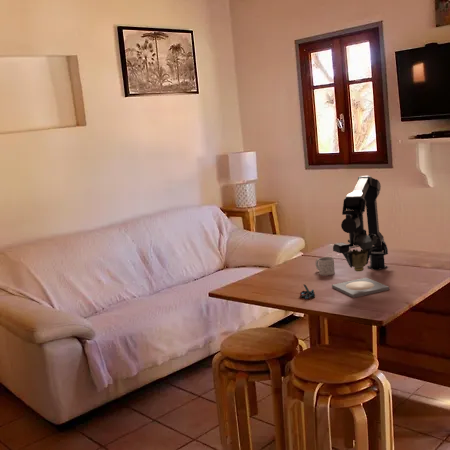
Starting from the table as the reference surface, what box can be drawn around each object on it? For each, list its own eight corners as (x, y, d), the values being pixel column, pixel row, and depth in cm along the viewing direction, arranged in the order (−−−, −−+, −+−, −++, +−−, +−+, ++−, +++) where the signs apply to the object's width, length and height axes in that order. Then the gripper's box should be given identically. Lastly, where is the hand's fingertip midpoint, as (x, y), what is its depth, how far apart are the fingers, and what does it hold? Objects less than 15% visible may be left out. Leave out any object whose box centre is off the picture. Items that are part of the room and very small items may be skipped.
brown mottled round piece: (370, 268, 232) (369, 248, 231) (366, 273, 226) (365, 253, 224) (351, 267, 236) (350, 248, 234) (347, 273, 229) (346, 253, 228)
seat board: (332, 287, 237) (331, 284, 237) (366, 280, 242) (366, 277, 242) (353, 297, 222) (353, 294, 222) (389, 289, 227) (389, 286, 227)
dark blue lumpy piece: (320, 293, 225) (304, 281, 227) (309, 308, 224) (293, 296, 226) (321, 296, 232) (305, 285, 234) (310, 311, 231) (294, 299, 234)
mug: (337, 273, 257) (336, 258, 256) (326, 276, 253) (325, 261, 252) (322, 269, 265) (321, 255, 264) (311, 272, 262) (310, 258, 260)
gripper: (345, 234, 217) (348, 274, 220) (388, 226, 223) (391, 265, 226) (331, 229, 228) (333, 268, 231) (372, 222, 233) (374, 260, 236)
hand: (358, 265), depth 230 cm, fingers closed on brown mottled round piece, 6 cm apart
